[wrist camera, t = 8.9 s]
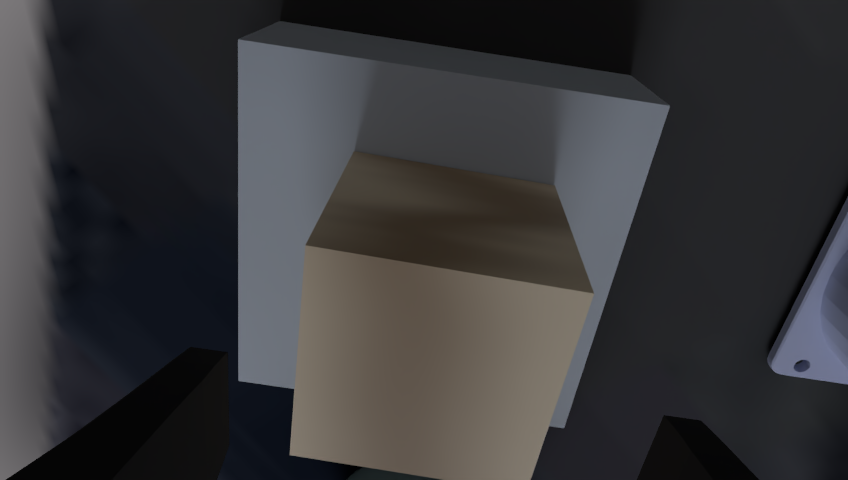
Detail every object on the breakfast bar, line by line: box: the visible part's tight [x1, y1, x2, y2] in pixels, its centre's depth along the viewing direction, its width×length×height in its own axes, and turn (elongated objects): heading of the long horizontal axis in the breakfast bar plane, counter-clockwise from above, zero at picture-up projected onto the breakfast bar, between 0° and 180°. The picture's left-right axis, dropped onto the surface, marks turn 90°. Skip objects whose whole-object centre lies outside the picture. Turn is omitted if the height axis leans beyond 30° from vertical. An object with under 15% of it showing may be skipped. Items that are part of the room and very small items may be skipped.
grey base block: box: [238, 21, 670, 428], centre depth 18 cm, size 10×10×4 cm
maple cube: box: [290, 151, 594, 480], centre depth 14 cm, size 5×5×5 cm
